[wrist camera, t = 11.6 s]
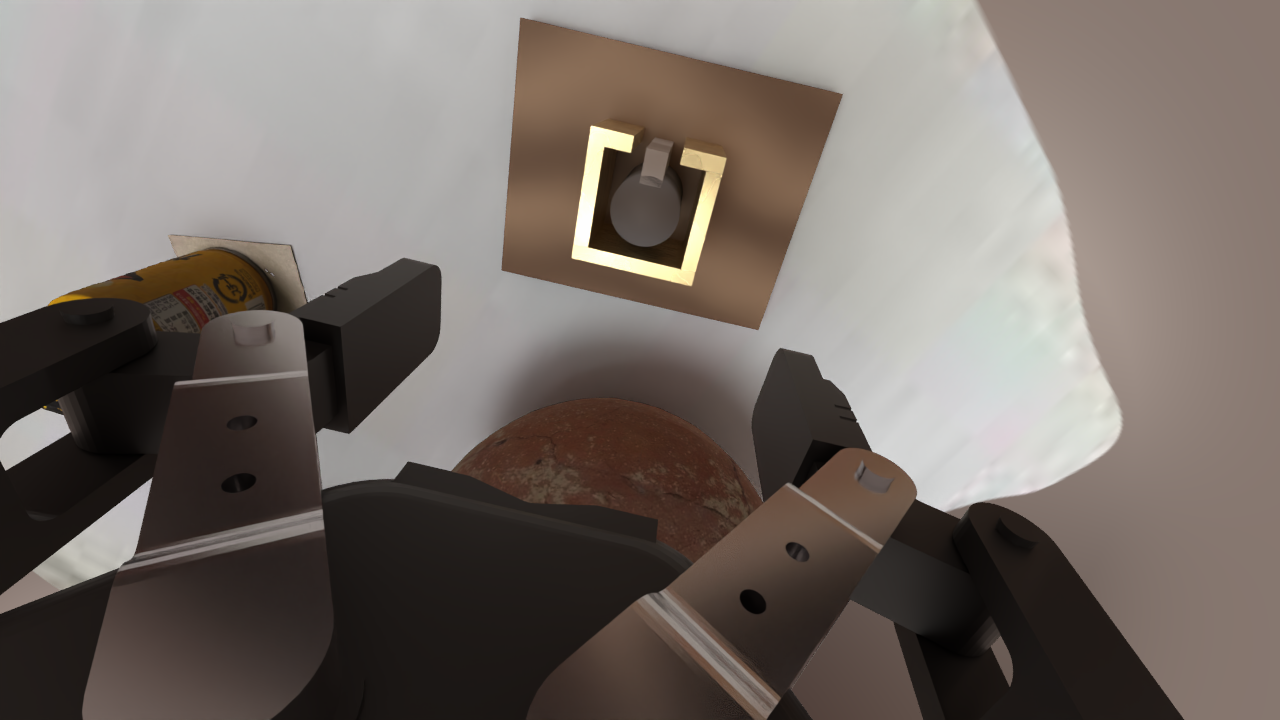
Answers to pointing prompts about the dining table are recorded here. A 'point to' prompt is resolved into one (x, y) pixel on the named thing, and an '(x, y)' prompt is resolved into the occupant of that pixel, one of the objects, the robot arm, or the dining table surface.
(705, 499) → the jug
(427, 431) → the dining table surface
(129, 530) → the dining table surface
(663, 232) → the keyed stand
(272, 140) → the dining table surface
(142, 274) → the condiment
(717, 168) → the collar
